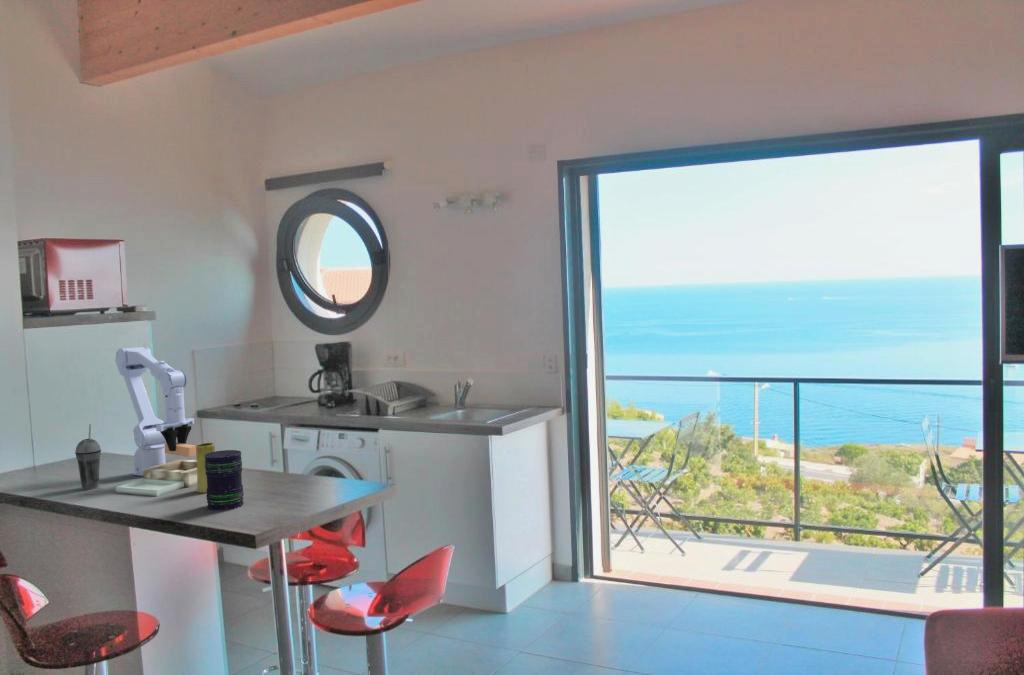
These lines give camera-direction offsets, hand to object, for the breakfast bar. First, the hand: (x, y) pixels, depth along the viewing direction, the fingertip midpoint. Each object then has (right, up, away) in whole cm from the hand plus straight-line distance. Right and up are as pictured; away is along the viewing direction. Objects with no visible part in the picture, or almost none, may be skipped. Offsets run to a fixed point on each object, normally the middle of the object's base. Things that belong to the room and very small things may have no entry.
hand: (177, 449), depth 258 cm
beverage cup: (-24, -11, -8) cm, 28 cm away
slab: (+1, -1, 0) cm, 2 cm away
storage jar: (+28, -11, -35) cm, 46 cm away
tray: (-3, -11, -13) cm, 17 cm away
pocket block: (+2, -10, 0) cm, 10 cm away
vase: (+16, -10, -16) cm, 25 cm away
